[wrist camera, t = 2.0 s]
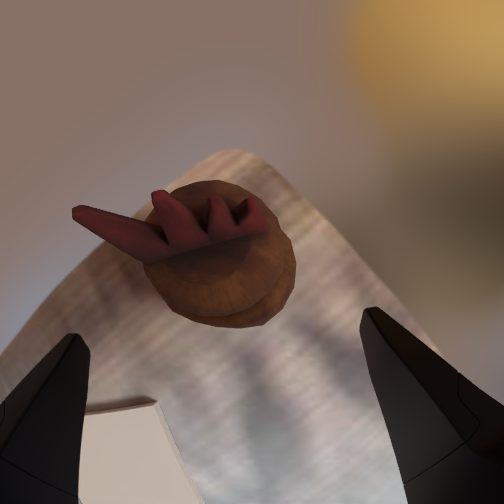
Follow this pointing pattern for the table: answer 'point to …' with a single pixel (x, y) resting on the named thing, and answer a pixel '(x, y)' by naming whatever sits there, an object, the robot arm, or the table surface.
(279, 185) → the table surface
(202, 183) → the wooden figurine
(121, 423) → the display tile
